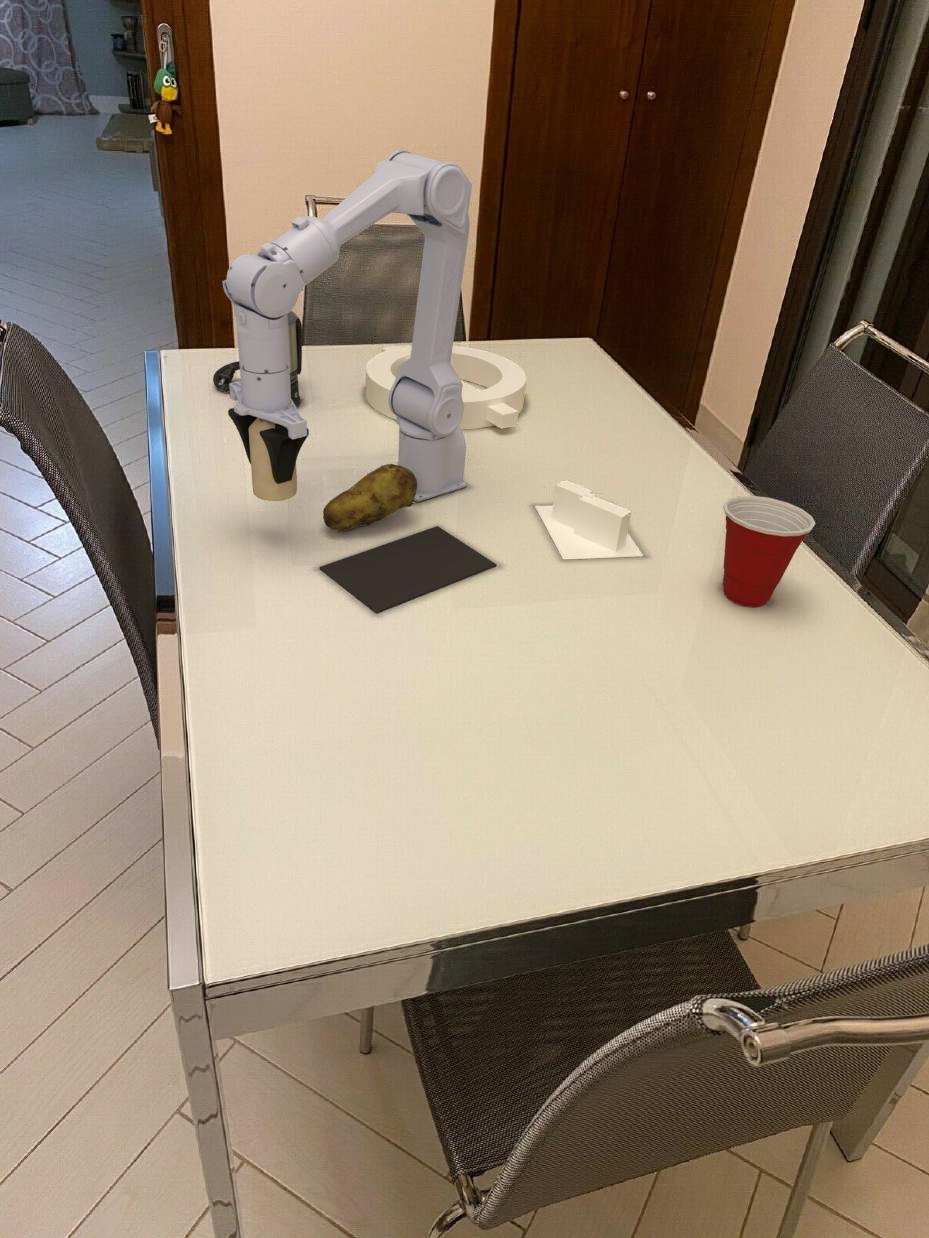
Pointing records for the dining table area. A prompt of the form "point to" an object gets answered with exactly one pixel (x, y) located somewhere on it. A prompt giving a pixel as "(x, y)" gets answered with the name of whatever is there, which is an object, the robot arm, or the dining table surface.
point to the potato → (371, 498)
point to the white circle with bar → (470, 365)
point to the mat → (406, 568)
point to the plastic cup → (760, 546)
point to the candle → (266, 467)
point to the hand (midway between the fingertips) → (270, 471)
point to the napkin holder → (587, 524)
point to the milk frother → (295, 359)
